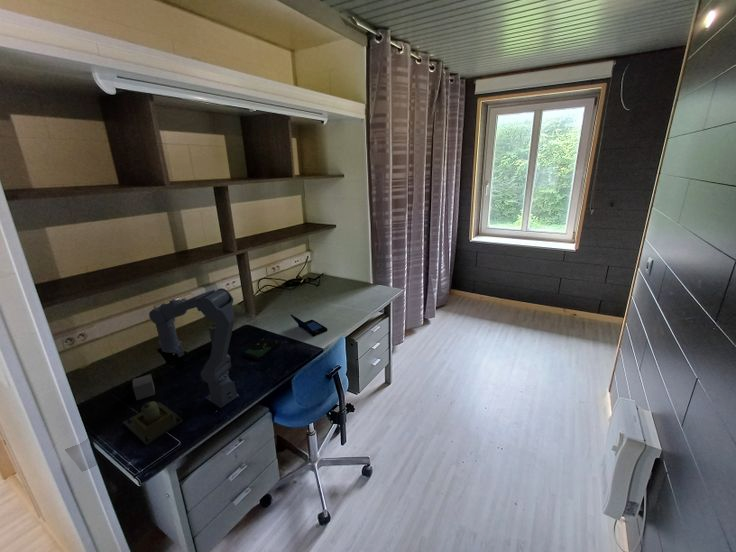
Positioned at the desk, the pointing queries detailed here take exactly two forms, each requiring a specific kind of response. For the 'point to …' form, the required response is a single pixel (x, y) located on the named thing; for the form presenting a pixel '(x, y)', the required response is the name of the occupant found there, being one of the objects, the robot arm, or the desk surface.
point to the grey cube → (143, 387)
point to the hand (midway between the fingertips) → (175, 366)
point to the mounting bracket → (153, 424)
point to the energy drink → (212, 332)
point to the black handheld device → (310, 326)
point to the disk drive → (262, 348)
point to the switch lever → (151, 412)
